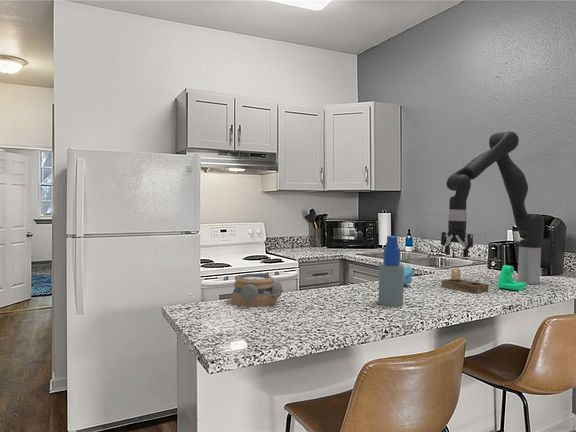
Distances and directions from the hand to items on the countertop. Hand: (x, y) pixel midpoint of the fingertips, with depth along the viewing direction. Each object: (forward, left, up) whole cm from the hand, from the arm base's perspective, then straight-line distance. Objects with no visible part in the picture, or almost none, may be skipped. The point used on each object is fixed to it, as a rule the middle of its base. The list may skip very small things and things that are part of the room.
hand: (456, 256), depth 187 cm
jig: (0, +4, -14) cm, 15 cm away
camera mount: (-20, +15, -14) cm, 29 cm away
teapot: (+19, -18, -14) cm, 29 cm away
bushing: (0, 0, -14) cm, 14 cm away
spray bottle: (+49, +4, -14) cm, 51 cm away
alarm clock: (+90, -23, -14) cm, 94 cm away
